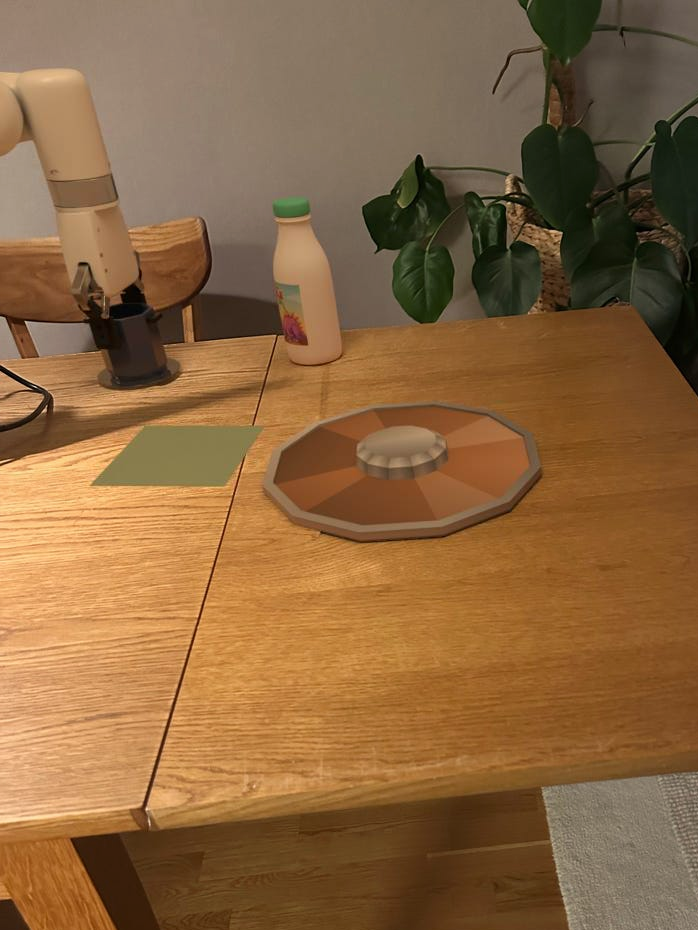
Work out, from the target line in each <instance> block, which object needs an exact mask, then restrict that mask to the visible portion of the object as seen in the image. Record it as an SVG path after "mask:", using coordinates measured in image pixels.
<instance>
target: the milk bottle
mask: <svg viewBox="0 0 698 930" xmlns="http://www.w3.org/2000/svg"><path fill="white" fill-rule="evenodd" d="M310 206H311V205H310V201H309V199H307V198H306V197H301V196H289V197H283V198H278V199H276V200H274V201H273V202H272V211H273V215H274V221H275V222H276V223H277V239H276V246H275V250H274V254H273V261H272V270H273V271H272V273H273V274H272V275H273V281H274V287H275V295H276V300H277V305H278V311H279V316H280V322H281V326H282V327H281V328H282V332H283V338H284V343H285V348H286V352H287V353H286V354H287V357H288V358H289V360H290V361H291V362H292V363H295V364H298V365H303V366H304V365H306V366H311V365H314V366H315V365H322V364H326V363H330V362H333V361H336V360H338V359H339V358H340V357H341V356H340V355H342V353H343V343H342V335H341V329H340V321H339V315H338V309H337V302H336V295H335V288H334V283H333V277H332V271H331V267H330V263H329V260H328V257H327V255H326V253H325V251H324V249H323V248H322V246H321V243H320V242H319V240H318V238H317V237H316V235H315V232H314V230H313V228H312V225H311V218H312V214H311V207H310Z"/></svg>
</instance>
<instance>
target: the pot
mask: <svg viewBox="0 0 698 930" xmlns="http://www.w3.org/2000/svg"><path fill="white" fill-rule="evenodd" d="M163 315H164V314H163V313H162V312H161V311H160V312H155V310H154V307H153V306H151V305H150V304H148V303H147V304H146V303H144V302H129V303H122V302H119V303H115V304H110V310H109V316H113V317H114V321H115V324H116V328H117V331H118V334H119V338H120V341H121V345H122V347H121V348H120V349H99V350H100V352H101V356H102V358H103V362H104V366H105V368H107V371H108V372H110V374H111V377H112V378H114V379H116V380H120V381H138V380H144V379H148V378H151V377H154V376H157V375H159V374H161V373H163V372H164V371H165V370H166V368H167V365H166V364H167V363H168V360H167V353H166V350H165V346H164V342H163V339H162V336H161V332H160V328H159V325H158V322H159V321H160V320H161V319H162V318H163V317H164V316H163ZM83 322H84V324H85V325H89V322H88V319H86V318H85V317H84V318H83Z"/></svg>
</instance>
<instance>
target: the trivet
mask: <svg viewBox="0 0 698 930" xmlns="http://www.w3.org/2000/svg"><path fill="white" fill-rule="evenodd" d="M166 357H167V356H166ZM167 360H168V363H167V364H166V365H167V368H166V370H165V371H164V372H163V373H161V374H159V375H157V376H154V377H151V378H148V379H144V380H138V381H120V380H116V379H114V378H112V377H111V374H110V372H108V371H107V368H106V367H104V369H102V370H101V371H100V372H99V373H97V376H96V380H97V383H98V385H99V387H101V388H103V389H106V390H111V391H118V392H119V391H120V392H121V391H122V392H123V391H124V392H125V391H126V392H127V391H129V392H130V391H138V390H144V389H149V388H153V387H162V386H164V385H167V384H169V383H171V382H173V381H175V380H176V379H178V378H179V377H180V376H181V375H182V365H181V363H180V362H179V361H178V360H177V359H175V358H172V357H167Z"/></svg>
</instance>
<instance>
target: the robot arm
mask: <svg viewBox="0 0 698 930" xmlns="http://www.w3.org/2000/svg"><path fill="white" fill-rule="evenodd" d="M30 141H31V142H33V145H34V147H35V151H36V153H37V157H38V160H39V163H40V166H41V169H42V172H43V176H44V178H45V181H46V186H47V189H48V191H49V195H50V198H51V201H52V204H53V208H54V210H55V220H56V227H57V233H58V238H59V244H60V248H61V252H62V257H63V259H64V265H65V267H66V271H67V275H68V278H69V279H68V280H69V282H70V285H71V286H70V292H71V296H72V297H73V299H74V300H75V302H76V303H77V307H78V309H79V310H80V311H81V312H82V314H83V317H84V319H85V318H86V319H88V322H89V324H88V325H89V328H90V332H91V335H92V338H93V342H94V345H95V347H96V349H97V350H100V349H120V348H121V347H122V345H121V341H120V338H119V334H118V331H117V328H116V324H115V321H114V317H113V316H109V310H110V305H111V298H115V296H117V295H118V294H119V296H120V299H121V303H129V302H144V303H146V304H148V302H147V298H146V295H145V285H144V283H143V282H142V277H143V270H142V269H141V262H140V253H139V252H138V251H137V250H135V249H134V245H133V243H132V239H131V236H130V233H129V230H128V227H127V224H126V221H125V218H124V216H123V213H122V210H121V208H120V204H121V201H120V197H119V194H118V190H117V185H116V181H115V178H114V174H113V171H112V167H111V163H110V159H109V156H108V152H107V148H106V145H105V142H104V137H103V133H102V130H101V126H100V122H99V118H98V115H97V112H96V108H95V104H94V100H93V96H92V92H91V89H90V86H89V83H88V81H87V79H86V77H85V76H84V75H83V73H82V72H80V71H79V70H77V69H74V68H68V67H64V68H63V67H59V68H58V67H57V68H55V67H54V68H53V67H52V68H41V69H33V70H26V71H24V72H8V71H0V157H3V156H6V155H8V154H9V153H10V152H12V151H13V150H14V149H15V148H16V147H17V145H18V144H20V143H24V142H30ZM96 301H100V305H99V304H98V303H97V302H96Z"/></svg>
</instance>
